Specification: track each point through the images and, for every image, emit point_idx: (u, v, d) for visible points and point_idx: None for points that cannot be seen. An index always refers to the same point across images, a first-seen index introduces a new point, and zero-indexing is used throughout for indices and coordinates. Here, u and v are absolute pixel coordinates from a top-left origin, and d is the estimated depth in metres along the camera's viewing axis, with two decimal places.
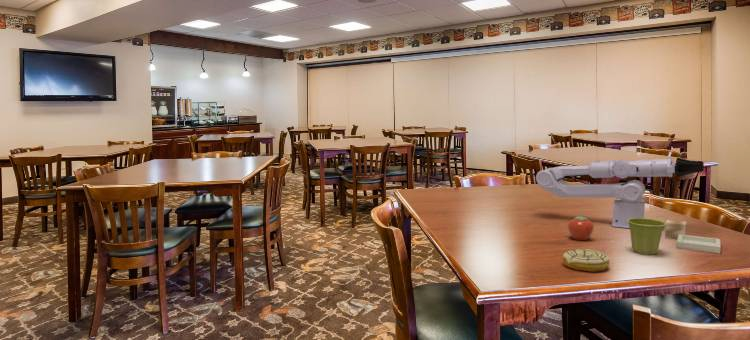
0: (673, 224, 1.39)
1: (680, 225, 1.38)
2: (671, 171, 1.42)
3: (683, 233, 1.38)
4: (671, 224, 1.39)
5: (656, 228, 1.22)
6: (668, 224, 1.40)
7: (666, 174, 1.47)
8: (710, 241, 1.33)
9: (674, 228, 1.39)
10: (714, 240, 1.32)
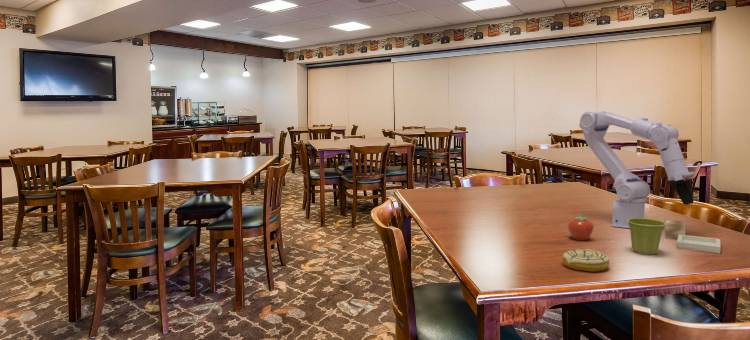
0: (673, 224, 1.39)
1: (680, 225, 1.38)
2: (676, 177, 1.36)
3: (683, 233, 1.38)
4: (671, 224, 1.40)
5: (656, 228, 1.22)
6: (668, 224, 1.40)
7: (669, 175, 1.41)
8: (710, 241, 1.33)
9: (674, 228, 1.39)
10: (714, 240, 1.32)
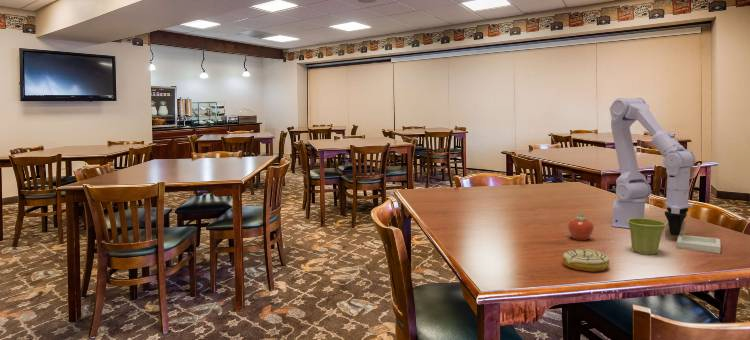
0: None
1: None
2: (673, 210, 1.35)
3: (683, 233, 1.38)
4: None
5: (656, 228, 1.22)
6: (668, 224, 1.40)
7: (668, 201, 1.40)
8: (710, 241, 1.33)
9: None
10: (714, 240, 1.32)
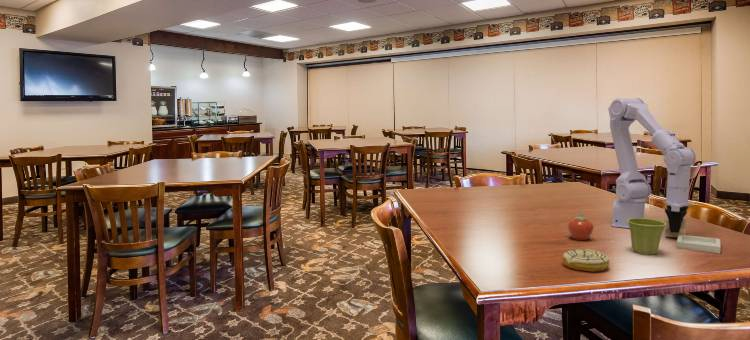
0: None
1: None
2: (673, 208, 1.35)
3: (683, 231, 1.38)
4: None
5: (656, 228, 1.22)
6: (668, 222, 1.40)
7: (668, 199, 1.40)
8: (710, 241, 1.33)
9: None
10: (714, 240, 1.32)
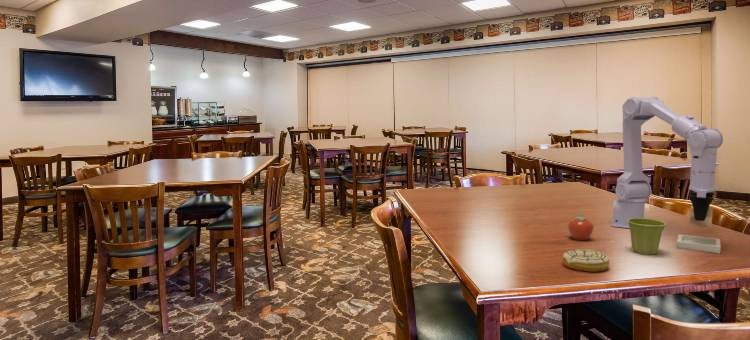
0: None
1: (707, 211, 1.27)
2: (698, 194, 1.24)
3: (710, 219, 1.27)
4: None
5: (656, 228, 1.22)
6: (693, 210, 1.29)
7: (693, 185, 1.29)
8: (710, 241, 1.33)
9: None
10: (714, 240, 1.32)
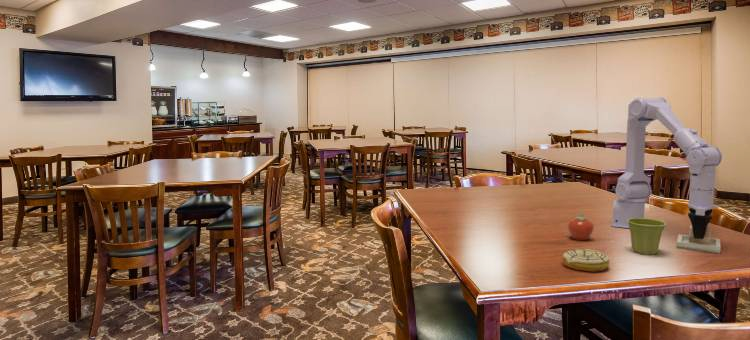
0: None
1: None
2: (697, 212, 1.25)
3: (709, 239, 1.28)
4: None
5: (656, 228, 1.22)
6: (692, 230, 1.30)
7: (692, 202, 1.30)
8: None
9: None
10: (714, 240, 1.32)
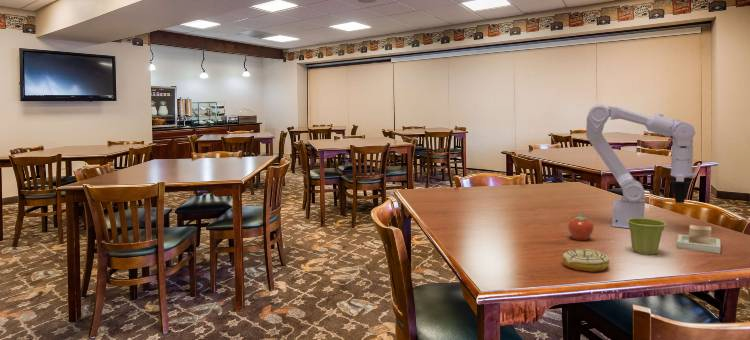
0: (698, 230, 1.29)
1: (705, 231, 1.28)
2: (677, 179, 1.43)
3: (709, 239, 1.28)
4: (695, 230, 1.29)
5: (656, 228, 1.22)
6: (692, 230, 1.30)
7: (673, 171, 1.47)
8: None
9: (699, 234, 1.29)
10: (714, 240, 1.32)
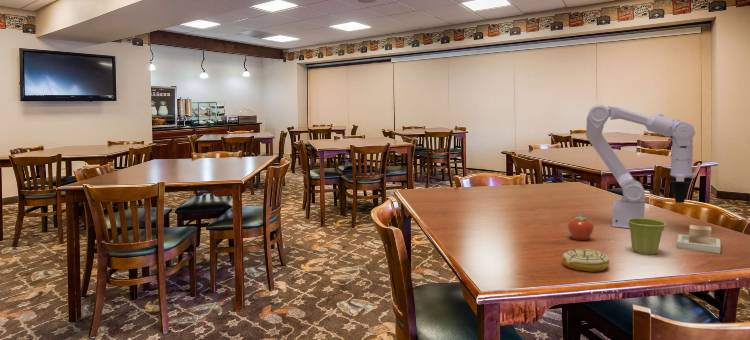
0: (698, 230, 1.29)
1: (705, 231, 1.28)
2: (677, 178, 1.43)
3: (709, 239, 1.28)
4: (695, 230, 1.29)
5: (656, 228, 1.22)
6: (692, 230, 1.30)
7: (673, 171, 1.48)
8: None
9: (699, 234, 1.29)
10: (714, 240, 1.32)
